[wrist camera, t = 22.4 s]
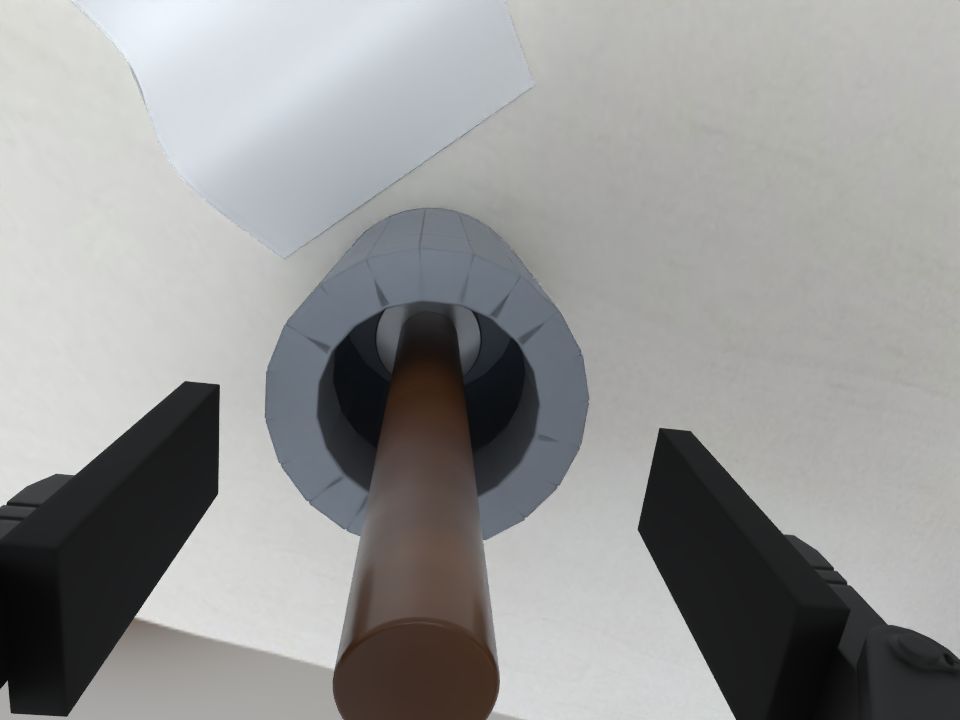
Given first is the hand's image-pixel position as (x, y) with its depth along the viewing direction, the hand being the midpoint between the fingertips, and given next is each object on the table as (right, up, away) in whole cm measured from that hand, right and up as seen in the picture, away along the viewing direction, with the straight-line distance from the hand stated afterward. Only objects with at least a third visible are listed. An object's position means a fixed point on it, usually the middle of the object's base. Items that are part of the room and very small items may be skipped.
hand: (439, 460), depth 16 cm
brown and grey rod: (-1, +5, +14) cm, 15 cm away
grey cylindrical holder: (-1, +5, +15) cm, 16 cm away
